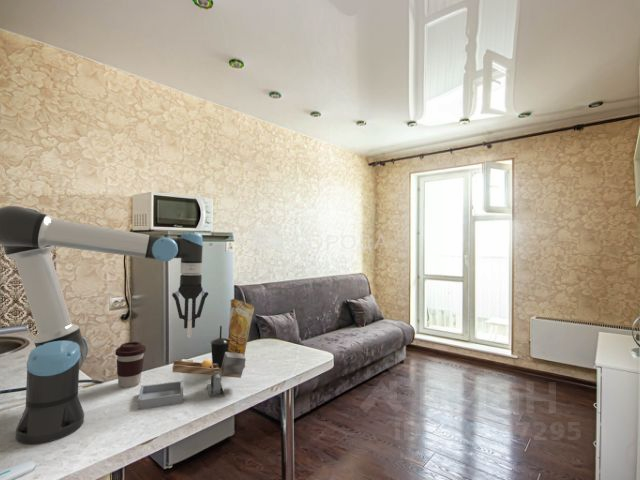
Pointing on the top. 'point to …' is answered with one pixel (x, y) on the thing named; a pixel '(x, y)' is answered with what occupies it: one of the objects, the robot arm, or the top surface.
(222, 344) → the drinking cup
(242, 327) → the pancake mix bag
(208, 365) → the ball
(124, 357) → the coffee cup
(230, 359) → the lever
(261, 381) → the top surface
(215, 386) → the stand
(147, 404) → the dish
